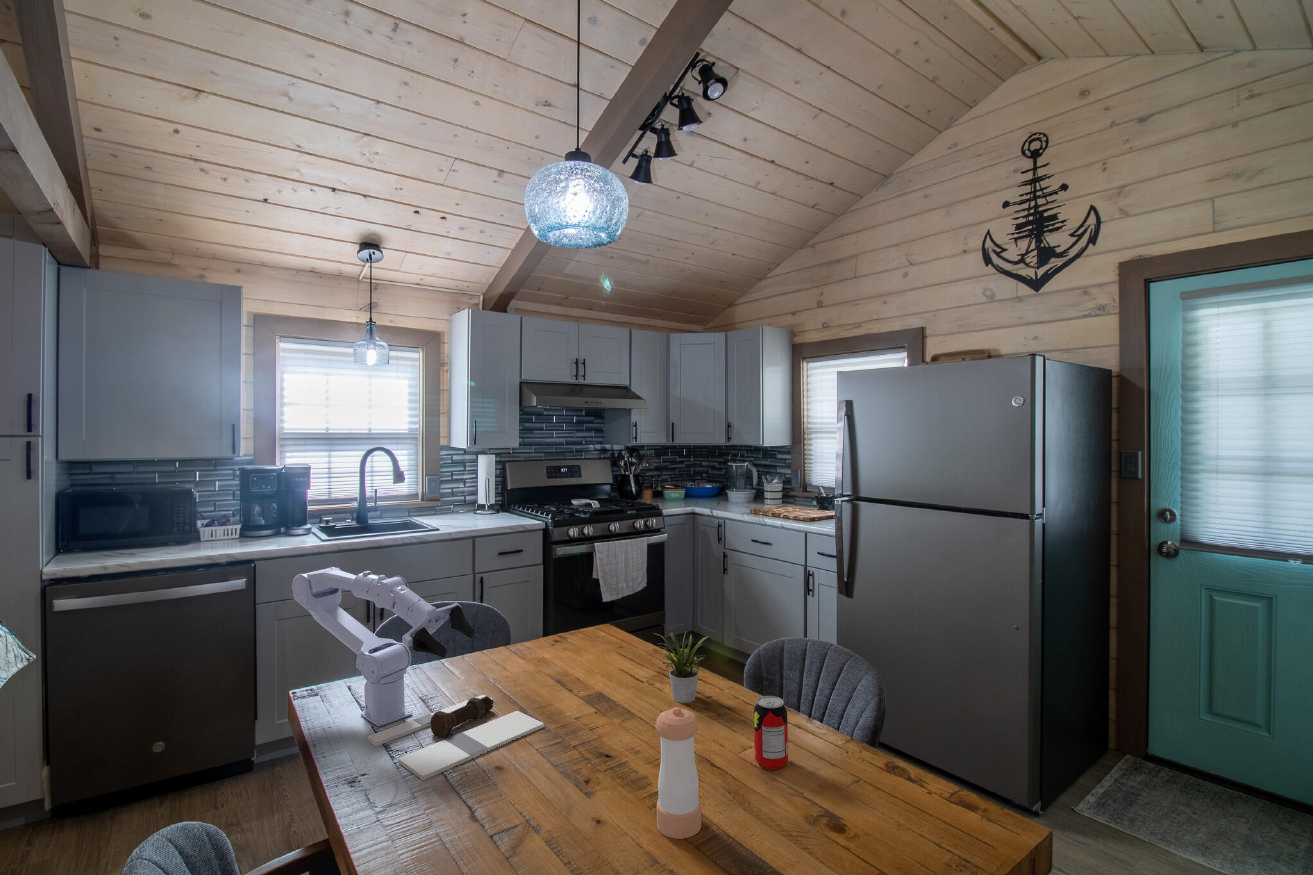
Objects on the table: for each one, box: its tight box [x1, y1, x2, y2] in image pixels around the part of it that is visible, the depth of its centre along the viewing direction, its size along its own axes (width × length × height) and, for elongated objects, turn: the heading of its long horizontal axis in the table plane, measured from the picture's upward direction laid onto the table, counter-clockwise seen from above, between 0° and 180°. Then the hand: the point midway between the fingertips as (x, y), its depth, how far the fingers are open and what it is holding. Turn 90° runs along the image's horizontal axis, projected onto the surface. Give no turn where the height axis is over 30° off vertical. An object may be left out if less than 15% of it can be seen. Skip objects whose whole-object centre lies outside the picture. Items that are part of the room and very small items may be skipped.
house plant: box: [652, 630, 710, 704], centre depth 153 cm, size 14×14×16 cm
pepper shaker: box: [655, 706, 702, 840], centre depth 104 cm, size 7×7×19 cm
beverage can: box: [753, 695, 789, 771], centre depth 123 cm, size 6×6×12 cm
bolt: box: [430, 695, 495, 739], centre depth 143 cm, size 6×5×15 cm
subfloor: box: [367, 694, 545, 781], centre depth 138 cm, size 24×28×1 cm
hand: (459, 643), depth 137 cm, fingers open, 7 cm apart
